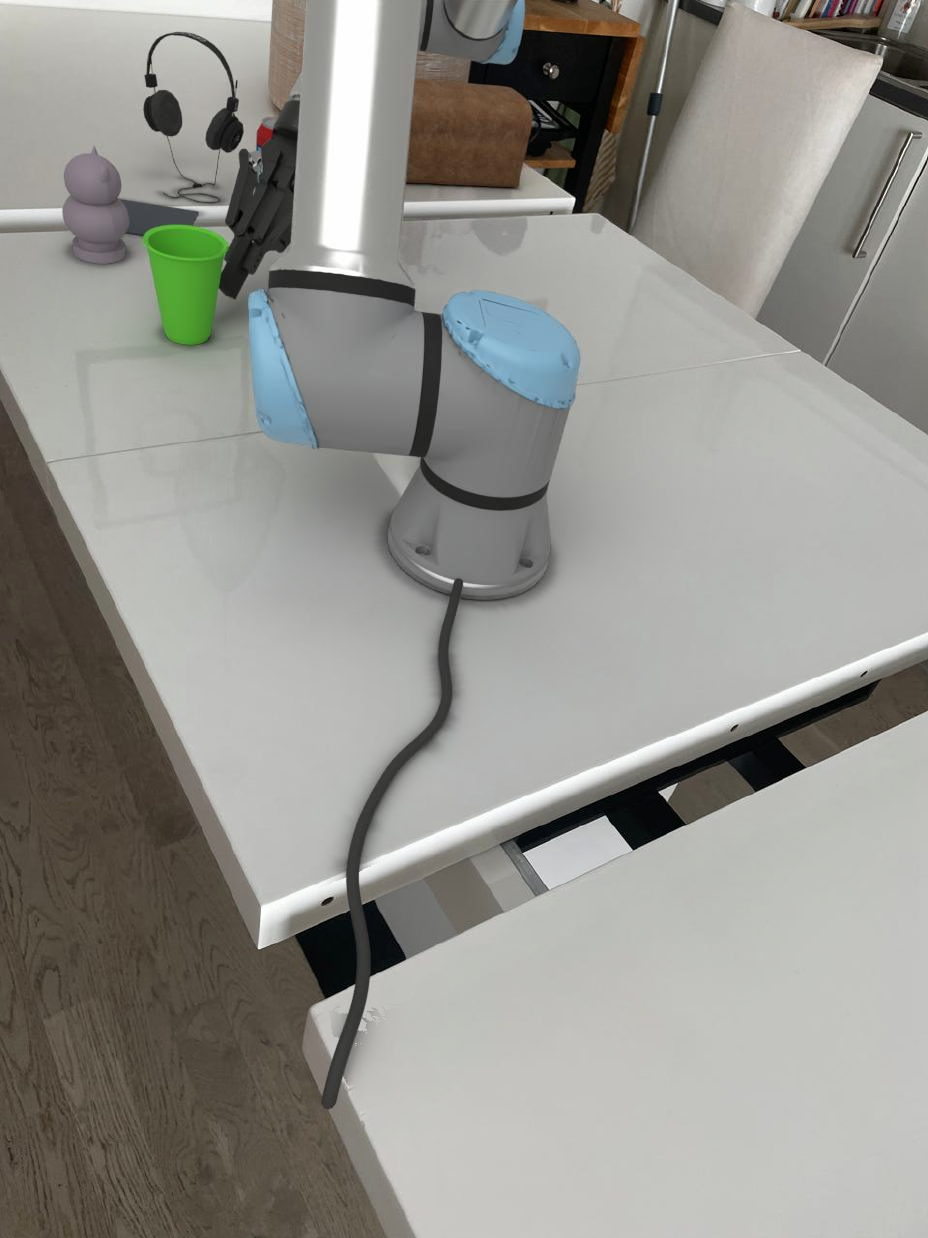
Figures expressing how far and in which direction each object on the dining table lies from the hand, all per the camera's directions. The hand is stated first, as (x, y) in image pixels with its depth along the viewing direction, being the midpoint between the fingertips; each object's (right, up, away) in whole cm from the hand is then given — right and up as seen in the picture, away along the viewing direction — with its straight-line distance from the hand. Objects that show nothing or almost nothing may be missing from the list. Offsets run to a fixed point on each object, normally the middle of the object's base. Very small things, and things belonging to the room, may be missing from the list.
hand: (225, 292), depth 117 cm
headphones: (-14, +26, +31) cm, 43 cm away
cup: (-4, -6, -3) cm, 8 cm away
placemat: (-15, +16, +19) cm, 29 cm away
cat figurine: (-19, +8, +9) cm, 22 cm away
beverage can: (0, +23, +31) cm, 38 cm away
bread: (+20, +39, +54) cm, 70 cm away
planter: (+9, +57, +71) cm, 92 cm away
